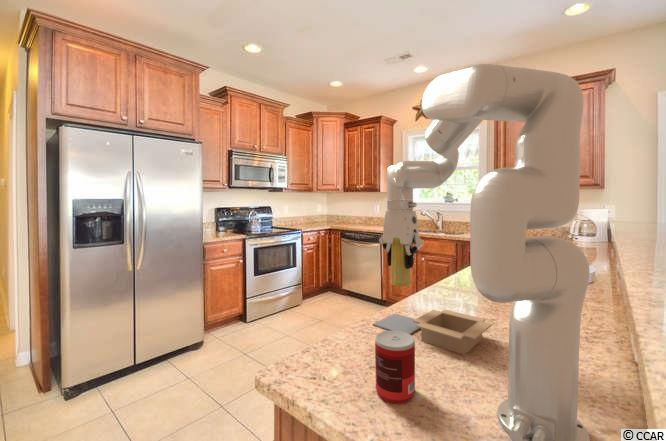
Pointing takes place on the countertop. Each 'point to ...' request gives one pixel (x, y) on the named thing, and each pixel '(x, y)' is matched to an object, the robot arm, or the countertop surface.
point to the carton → (451, 330)
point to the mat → (398, 324)
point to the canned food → (395, 366)
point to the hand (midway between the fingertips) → (400, 265)
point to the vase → (399, 265)
